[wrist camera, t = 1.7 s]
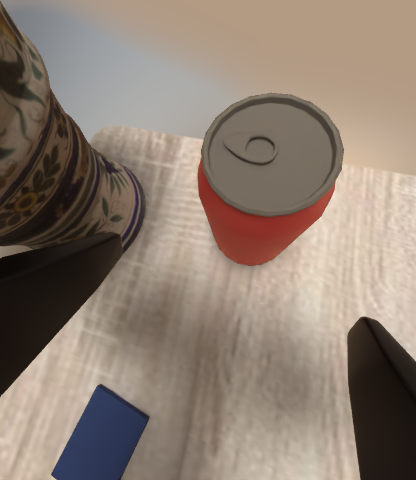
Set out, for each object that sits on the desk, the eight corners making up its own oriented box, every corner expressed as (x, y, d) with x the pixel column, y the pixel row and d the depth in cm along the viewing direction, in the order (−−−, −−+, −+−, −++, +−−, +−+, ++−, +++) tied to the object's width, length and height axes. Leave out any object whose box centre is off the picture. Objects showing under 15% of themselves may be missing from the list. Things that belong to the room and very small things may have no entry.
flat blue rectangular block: (105, 510, 17) (101, 517, 16) (55, 470, 18) (50, 475, 17) (149, 416, 18) (147, 420, 17) (100, 383, 19) (97, 385, 18)
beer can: (229, 188, 22) (222, 67, 10) (296, 210, 20) (379, 100, 9) (203, 250, 20) (162, 195, 9) (273, 277, 19) (331, 254, 8)
